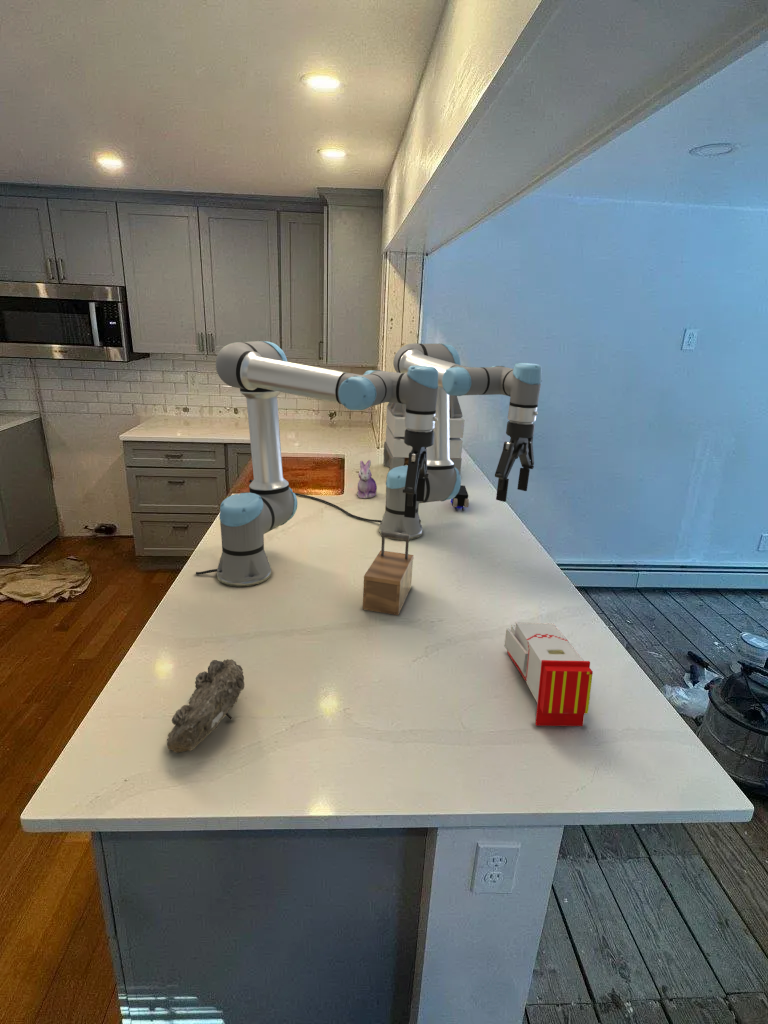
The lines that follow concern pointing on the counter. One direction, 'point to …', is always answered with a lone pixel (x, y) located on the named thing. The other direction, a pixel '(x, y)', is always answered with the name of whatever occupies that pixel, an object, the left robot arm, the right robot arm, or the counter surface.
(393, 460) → the wooden drawer cabinet
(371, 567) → the lid
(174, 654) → the counter surface
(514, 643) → the toy
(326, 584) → the counter surface
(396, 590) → the chest
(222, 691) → the fossil
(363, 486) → the figurine
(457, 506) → the figurine character
